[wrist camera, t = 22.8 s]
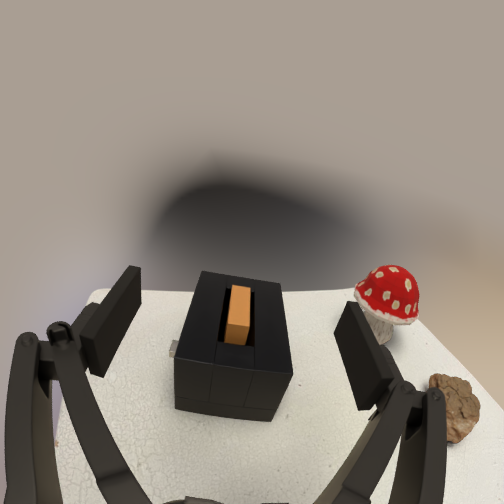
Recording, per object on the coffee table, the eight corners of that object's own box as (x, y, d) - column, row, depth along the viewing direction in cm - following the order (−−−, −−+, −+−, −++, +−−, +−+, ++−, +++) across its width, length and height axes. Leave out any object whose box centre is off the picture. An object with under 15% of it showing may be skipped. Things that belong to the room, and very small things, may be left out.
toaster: (165, 407, 29) (161, 354, 25) (189, 320, 46) (193, 269, 42) (271, 421, 30) (293, 374, 26) (266, 332, 47) (280, 283, 42)
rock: (473, 450, 23) (493, 432, 21) (424, 445, 26) (445, 426, 24) (464, 395, 35) (479, 376, 33) (421, 385, 38) (436, 365, 36)
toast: (219, 372, 33) (227, 323, 30) (224, 332, 40) (232, 284, 37) (238, 375, 33) (249, 326, 30) (240, 335, 40) (250, 287, 37)
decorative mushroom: (352, 306, 59) (376, 245, 52) (405, 333, 51) (436, 273, 45) (326, 335, 48) (355, 263, 42) (391, 370, 41) (432, 300, 35)
